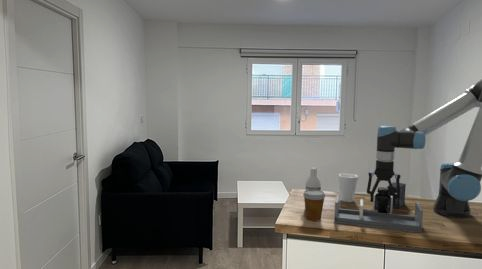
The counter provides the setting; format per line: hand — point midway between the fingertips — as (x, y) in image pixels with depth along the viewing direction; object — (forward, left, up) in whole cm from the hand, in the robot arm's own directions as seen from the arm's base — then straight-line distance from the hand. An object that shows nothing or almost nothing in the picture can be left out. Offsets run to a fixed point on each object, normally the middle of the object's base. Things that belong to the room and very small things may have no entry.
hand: (382, 209), depth 171 cm
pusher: (+6, +12, -1) cm, 14 cm away
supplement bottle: (0, 0, -2) cm, 2 cm away
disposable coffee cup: (+29, +17, -2) cm, 34 cm away
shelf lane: (+3, +12, -2) cm, 13 cm away
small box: (-7, -16, -2) cm, 18 cm away
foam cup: (+16, -17, -2) cm, 23 cm away
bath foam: (+31, +4, -2) cm, 31 cm away
